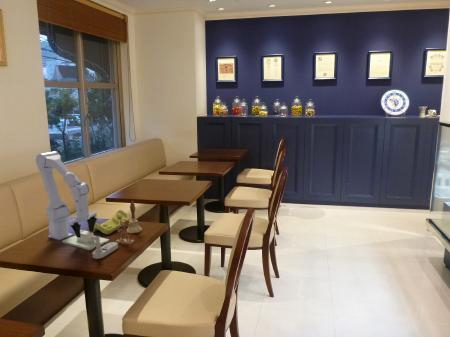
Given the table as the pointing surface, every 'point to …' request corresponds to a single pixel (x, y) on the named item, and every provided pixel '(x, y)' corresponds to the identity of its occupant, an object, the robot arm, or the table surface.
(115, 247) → the electronic device
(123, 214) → the plastic component
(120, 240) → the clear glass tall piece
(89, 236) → the grey connector
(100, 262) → the table surface
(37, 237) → the table surface
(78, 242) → the sage board
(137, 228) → the hand bell
